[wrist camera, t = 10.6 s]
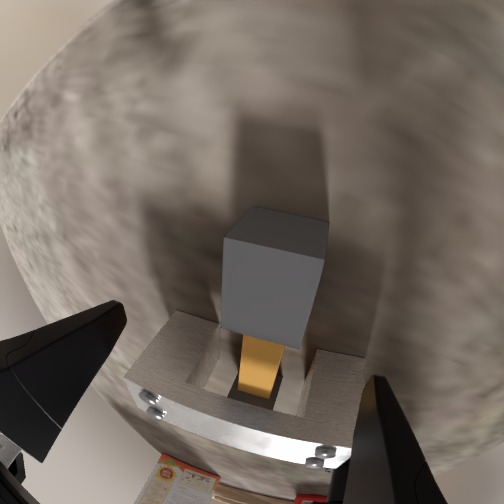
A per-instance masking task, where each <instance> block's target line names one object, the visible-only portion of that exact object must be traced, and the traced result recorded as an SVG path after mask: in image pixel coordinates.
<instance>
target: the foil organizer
mask: <svg viewBox="0 0 504 504" xmlns="http://www.w3.org/2000/svg"><path fill="white" fill-rule="evenodd" d="M212 498H213V499H216V500H219V501H222V502H225V503H228V504H294V502H291V501H286V500H280V499H275V498H270V497H266V496H261V495H257V494H253V493H249V492H245V491H242V490H238V489H235V488H231V487H228V486H225V485H222V484H219V483H218V485H217V487H216V490H215V492H214V494H213V496H212Z"/></svg>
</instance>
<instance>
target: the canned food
mask: <svg viewBox="0 0 504 504" xmlns="http://www.w3.org/2000/svg"><path fill="white" fill-rule="evenodd" d="M313 501H317V502H326V501H327V497H326V496H320V495H298V496H297V497H296V498H295V501H294V504H310V503H312V502H313Z"/></svg>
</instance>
